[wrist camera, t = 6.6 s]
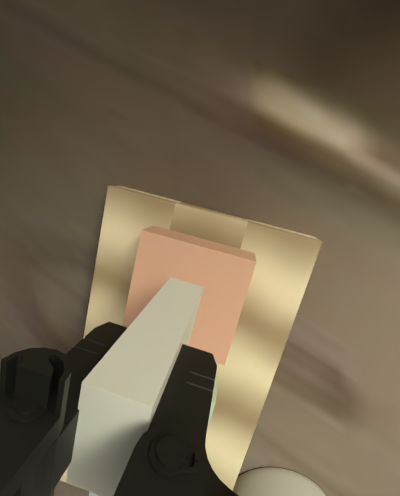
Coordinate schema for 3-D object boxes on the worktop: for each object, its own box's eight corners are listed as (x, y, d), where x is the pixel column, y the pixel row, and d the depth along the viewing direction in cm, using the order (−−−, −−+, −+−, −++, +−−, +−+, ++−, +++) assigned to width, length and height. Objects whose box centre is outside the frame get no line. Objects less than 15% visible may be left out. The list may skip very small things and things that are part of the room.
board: (122, 186, 18) (108, 185, 16) (313, 236, 17) (322, 241, 15) (74, 457, 24) (60, 480, 22) (217, 509, 23) (214, 539, 21)
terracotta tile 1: (163, 221, 18) (139, 230, 14) (253, 245, 17) (256, 262, 13) (146, 303, 19) (119, 334, 15) (228, 328, 19) (224, 367, 14)
